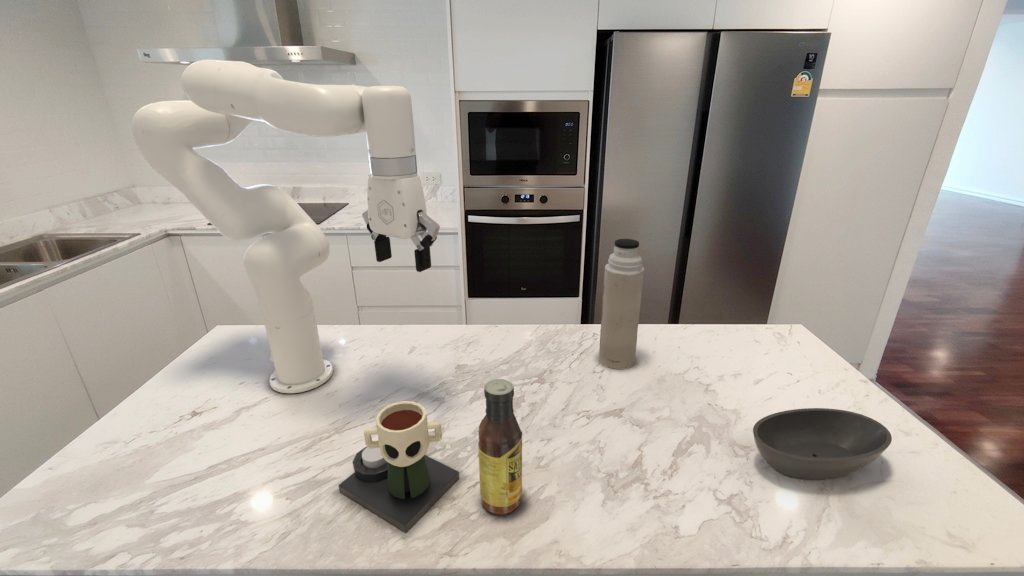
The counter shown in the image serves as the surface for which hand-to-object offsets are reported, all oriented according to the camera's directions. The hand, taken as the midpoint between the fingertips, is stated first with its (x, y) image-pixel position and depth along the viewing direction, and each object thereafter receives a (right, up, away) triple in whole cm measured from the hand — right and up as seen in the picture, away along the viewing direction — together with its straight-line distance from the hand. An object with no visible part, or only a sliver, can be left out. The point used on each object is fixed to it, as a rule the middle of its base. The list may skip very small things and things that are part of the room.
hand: (403, 264), depth 86 cm
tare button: (-2, -32, -9) cm, 33 cm away
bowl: (+68, -33, -7) cm, 76 cm away
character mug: (+4, -34, -13) cm, 37 cm away
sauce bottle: (+18, -36, -13) cm, 43 cm away
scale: (+2, -35, -11) cm, 37 cm away
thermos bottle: (+43, -21, +23) cm, 53 cm away
